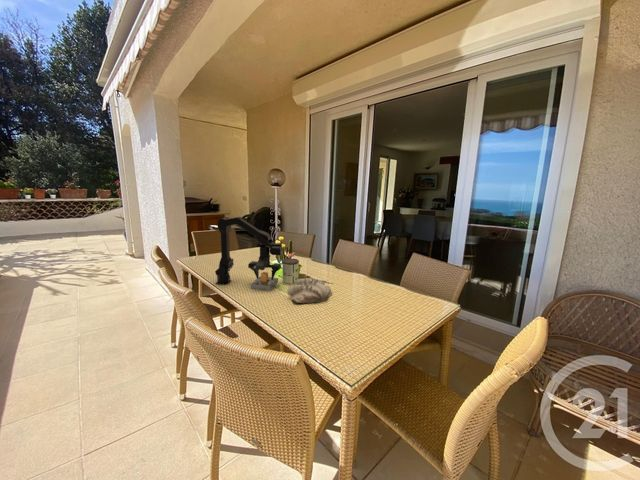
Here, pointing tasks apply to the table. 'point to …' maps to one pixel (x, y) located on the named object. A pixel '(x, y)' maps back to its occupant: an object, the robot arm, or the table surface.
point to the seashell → (309, 291)
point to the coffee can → (290, 271)
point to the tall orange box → (264, 277)
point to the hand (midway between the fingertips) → (264, 279)
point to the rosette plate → (264, 284)
